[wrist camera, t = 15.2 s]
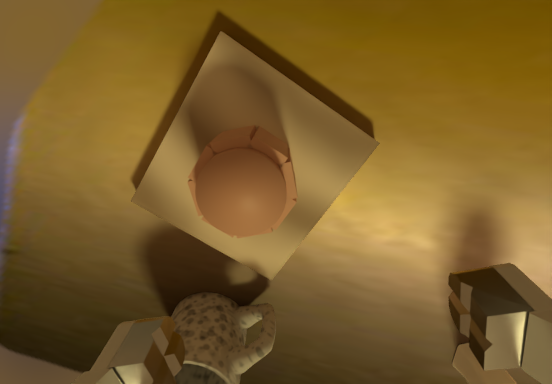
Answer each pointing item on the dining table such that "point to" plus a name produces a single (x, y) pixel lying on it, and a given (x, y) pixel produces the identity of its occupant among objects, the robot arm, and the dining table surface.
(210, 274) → the dining table surface
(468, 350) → the perfume bottle
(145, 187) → the board
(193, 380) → the mug
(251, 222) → the cap
